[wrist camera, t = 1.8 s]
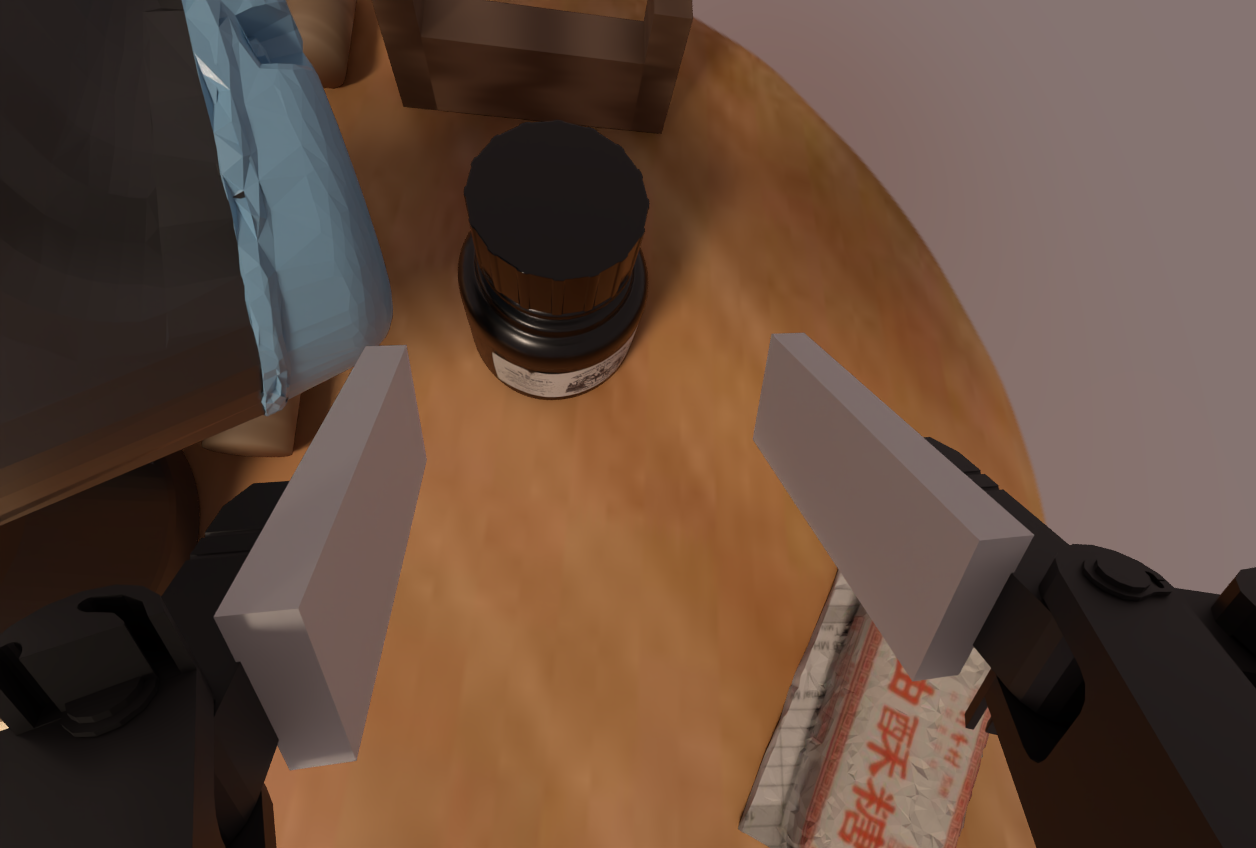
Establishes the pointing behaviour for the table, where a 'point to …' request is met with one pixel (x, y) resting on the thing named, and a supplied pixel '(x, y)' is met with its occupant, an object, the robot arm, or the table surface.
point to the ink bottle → (553, 258)
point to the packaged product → (867, 745)
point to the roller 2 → (325, 35)
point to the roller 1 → (260, 435)
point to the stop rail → (536, 60)
